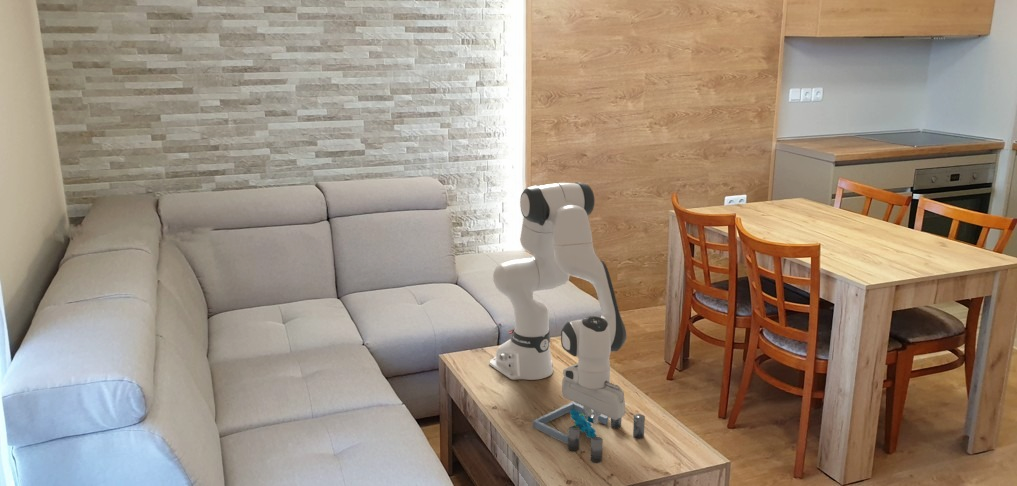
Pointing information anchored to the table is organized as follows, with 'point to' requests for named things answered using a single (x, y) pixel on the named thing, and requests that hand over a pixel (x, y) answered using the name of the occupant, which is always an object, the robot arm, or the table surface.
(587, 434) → the gear
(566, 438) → the u-shaped bent rod
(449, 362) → the table surface
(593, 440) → the spacer posts
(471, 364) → the table surface
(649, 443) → the table surface
